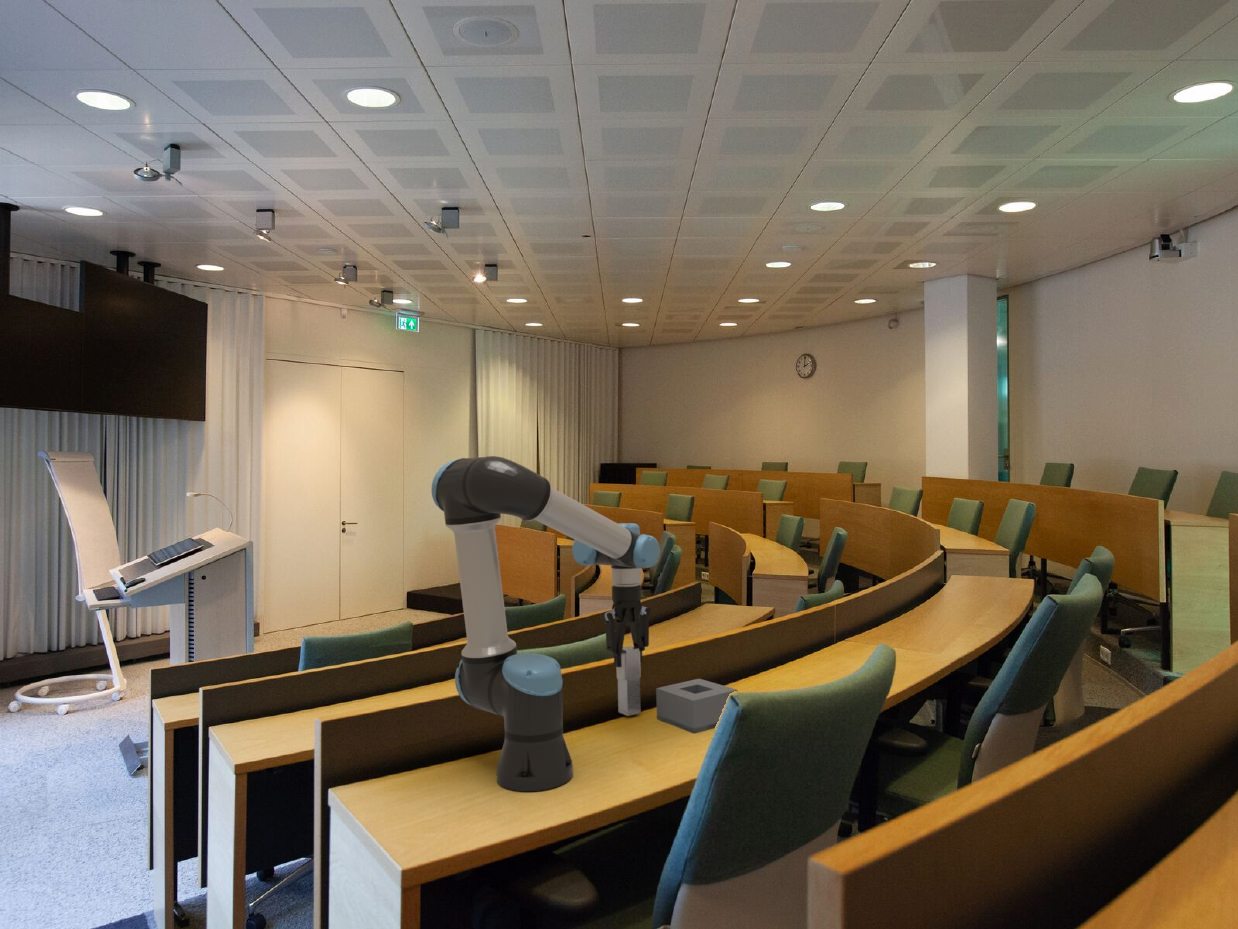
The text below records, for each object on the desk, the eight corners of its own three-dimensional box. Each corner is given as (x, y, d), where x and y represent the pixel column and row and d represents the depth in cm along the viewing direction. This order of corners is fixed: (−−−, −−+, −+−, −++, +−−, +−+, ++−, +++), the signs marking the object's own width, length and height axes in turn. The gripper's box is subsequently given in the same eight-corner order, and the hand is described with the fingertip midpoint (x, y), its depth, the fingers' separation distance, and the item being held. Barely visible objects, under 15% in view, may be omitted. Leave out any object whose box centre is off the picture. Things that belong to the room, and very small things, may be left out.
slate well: (694, 733, 171) (693, 700, 171) (657, 719, 183) (656, 688, 183) (738, 721, 179) (737, 689, 179) (700, 708, 191) (699, 678, 191)
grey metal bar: (627, 716, 184) (626, 650, 184) (618, 712, 187) (616, 648, 188) (640, 713, 186) (639, 648, 187) (631, 709, 189) (629, 646, 190)
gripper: (644, 580, 196) (646, 670, 195) (590, 586, 186) (592, 680, 185) (662, 582, 190) (664, 675, 189) (606, 589, 180) (609, 686, 179)
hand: (628, 677), depth 187 cm, fingers closed on grey metal bar, 4 cm apart
